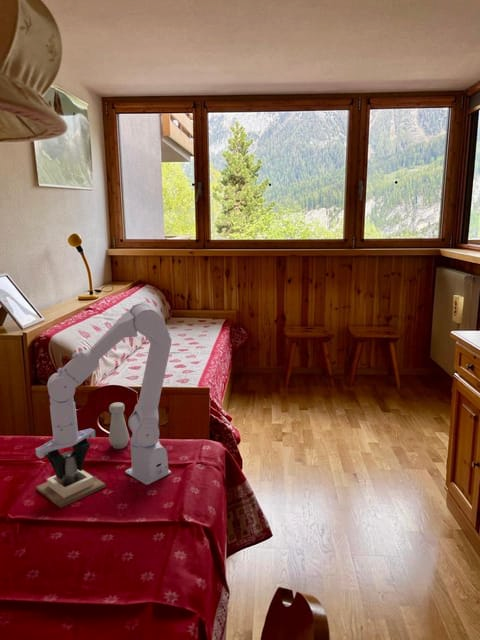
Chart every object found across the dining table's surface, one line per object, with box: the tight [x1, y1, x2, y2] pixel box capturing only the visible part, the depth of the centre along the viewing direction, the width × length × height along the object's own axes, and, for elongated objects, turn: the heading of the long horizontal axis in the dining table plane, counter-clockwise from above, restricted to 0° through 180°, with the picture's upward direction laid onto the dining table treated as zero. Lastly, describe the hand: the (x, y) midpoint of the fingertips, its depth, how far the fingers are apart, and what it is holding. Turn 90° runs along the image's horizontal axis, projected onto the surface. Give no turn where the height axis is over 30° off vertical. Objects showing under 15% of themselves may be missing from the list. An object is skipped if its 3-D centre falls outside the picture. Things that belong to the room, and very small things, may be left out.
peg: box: [60, 450, 79, 487], centre depth 123 cm, size 4×4×8 cm
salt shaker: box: [108, 401, 130, 450], centre depth 145 cm, size 6×6×13 cm
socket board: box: [36, 469, 106, 509], centre depth 124 cm, size 12×12×3 cm
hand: (69, 473), depth 123 cm, fingers open, 5 cm apart
